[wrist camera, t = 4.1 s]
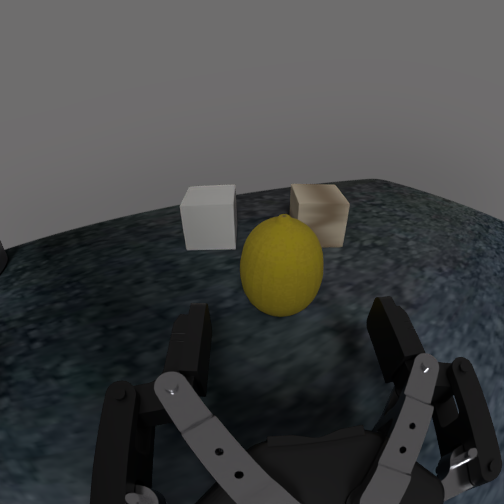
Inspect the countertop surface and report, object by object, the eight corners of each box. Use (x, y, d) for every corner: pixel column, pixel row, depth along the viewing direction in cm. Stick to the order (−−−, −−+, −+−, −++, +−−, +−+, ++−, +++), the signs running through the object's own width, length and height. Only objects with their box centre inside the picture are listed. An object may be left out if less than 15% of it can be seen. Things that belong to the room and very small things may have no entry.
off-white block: (186, 250, 28) (179, 206, 25) (194, 226, 32) (189, 186, 29) (235, 249, 28) (233, 204, 25) (237, 225, 32) (235, 184, 29)
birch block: (295, 248, 28) (298, 203, 25) (288, 224, 32) (291, 184, 29) (342, 247, 28) (349, 204, 25) (330, 223, 32) (335, 184, 29)
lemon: (275, 277, 24) (278, 190, 19) (328, 308, 21) (347, 216, 16) (227, 311, 21) (217, 216, 16) (282, 352, 17) (293, 254, 13)
